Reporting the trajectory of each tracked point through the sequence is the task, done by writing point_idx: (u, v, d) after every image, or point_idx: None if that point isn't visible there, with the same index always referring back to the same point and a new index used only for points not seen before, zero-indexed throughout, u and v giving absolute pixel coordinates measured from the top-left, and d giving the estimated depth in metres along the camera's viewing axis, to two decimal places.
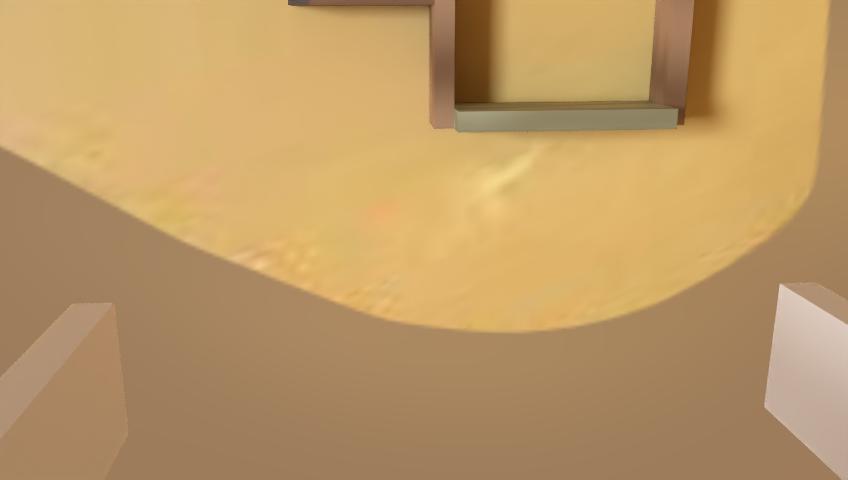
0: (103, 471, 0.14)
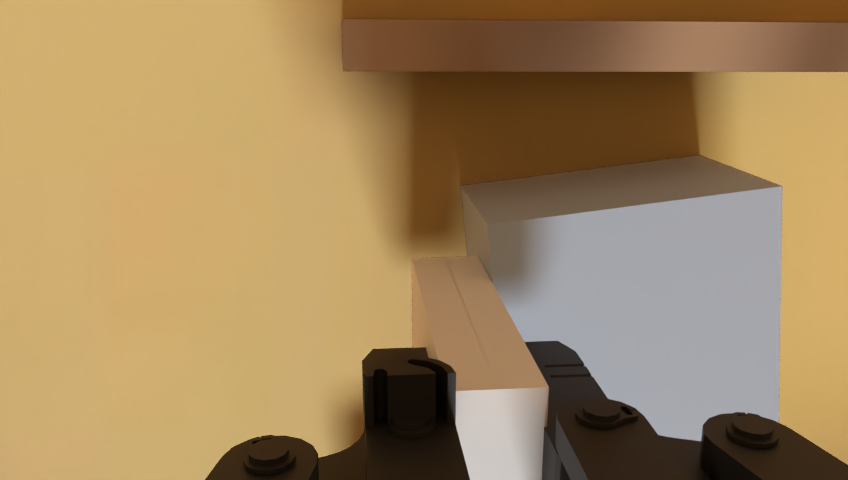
0: None
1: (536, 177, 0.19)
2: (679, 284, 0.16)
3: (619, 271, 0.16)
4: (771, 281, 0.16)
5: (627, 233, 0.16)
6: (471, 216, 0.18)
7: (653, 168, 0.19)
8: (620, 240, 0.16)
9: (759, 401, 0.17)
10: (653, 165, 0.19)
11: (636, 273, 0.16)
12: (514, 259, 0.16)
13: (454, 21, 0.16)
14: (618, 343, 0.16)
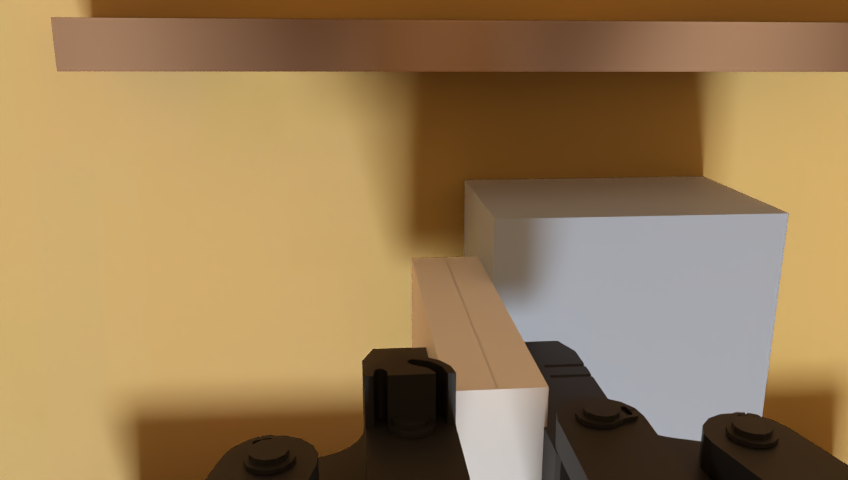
0: None
1: (542, 180, 0.19)
2: (676, 300, 0.16)
3: (619, 280, 0.16)
4: (767, 307, 0.16)
5: (632, 243, 0.16)
6: (475, 211, 0.18)
7: (659, 184, 0.19)
8: (624, 249, 0.16)
9: None
10: (659, 181, 0.19)
11: (636, 284, 0.16)
12: (517, 257, 0.16)
13: (171, 19, 0.15)
14: (609, 353, 0.16)
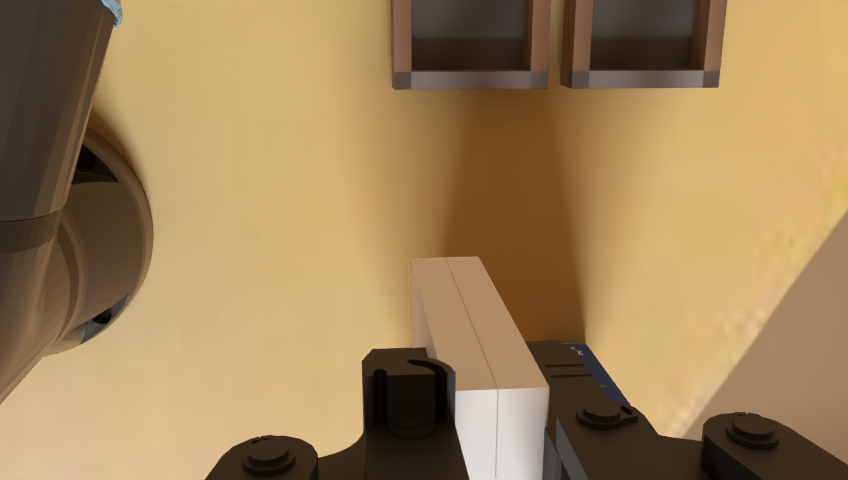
0: None
1: None
2: None
3: None
4: None
5: None
6: None
7: None
8: None
9: None
10: None
11: None
12: None
13: None
14: None
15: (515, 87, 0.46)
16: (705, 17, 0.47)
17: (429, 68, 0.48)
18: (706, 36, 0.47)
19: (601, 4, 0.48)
